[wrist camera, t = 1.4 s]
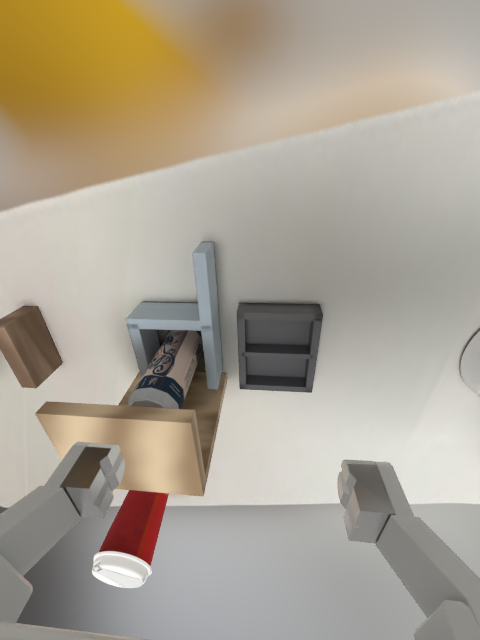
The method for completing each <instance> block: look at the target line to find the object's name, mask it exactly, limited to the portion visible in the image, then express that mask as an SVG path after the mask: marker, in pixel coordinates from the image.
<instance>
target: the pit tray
mask: <svg viewBox="0 0 480 640" xmlns="http://www.w3.org/2000/svg"><path fill="white" fill-rule="evenodd" d="M322 317H323V314H322V311H321V308H320V305H319V304H271V303H239V306H238V310H237V328H238V355H239V382H240V389H250V390H271V391H291V392H312V388H313V381H314V374H315V367H316V360H317V353H318V346H319V339H320V332H321V324H322Z"/></svg>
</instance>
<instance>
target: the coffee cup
mask: <svg viewBox="0 0 480 640" xmlns="http://www.w3.org/2000/svg"><path fill="white" fill-rule="evenodd" d="M168 494H169V493H159V492H148V491H137V490H129V492H128V494H127V496H126V498H125V500H124V502H123V504H122V506H121V508H120V510H119V512H118V514H117V516H116V518H115V520H114V522H113V523H112V525H111V527H110V529H109V531H108V534H107V536H106V538H105V540H104V542H103V544H102V546H101V548H100V551H99V553H97V554H95V556H94V565H93V568H92V573H93V575H94V576H95V577H96V578H98V579H99V580H101V581H103V582H105V583H108V584H111V585H114V586H117V587H123V588H137V587H140V586H142V585H143V583H144V582H146V580H147V576H149V575H151V574H152V571H151V570H152V569H151V567H150V565H151V561H152V558H153V554H154V550H155V546H156V542H157V538H158V534H159V530H160V526H161V522H162V518H163V514H164V510H165V506H166V502H167V498H168Z"/></svg>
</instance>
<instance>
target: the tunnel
mask: <svg viewBox="0 0 480 640" xmlns="http://www.w3.org/2000/svg"><path fill="white" fill-rule="evenodd" d="M140 379H141V374H140V372H139V373H138V375H137V376H136V378H135V380H134V381H133V383H132V384H131V386H130V388H129V389H128V391H127V392H126V394H125V395H124V397H123V399H122V400H121V402H120V403H119V405H118V406H116V405H99V404H81V403H64V402H46V403H45V404H44V405H43V406H42V407H41V408H40V409H39V410H38V411H37V412H36V413H35V414H36V416H37V418H38V419H39V421H40V423H41V425H42V426H43V428H44V430H45V432H46V433H47V435H48V437H49V439H50V440H51V442H52V444H53V446H54V447H55V449H56V451H57V452H58V454H59V456H60V458H61V459H62V460H63V458H64V457H65V455H66V454H67V453H68V451H69V450H70V448H71V447H72V446H73V445H74V444H75V443H76V442H77V441H78V442H92V443H104V444H118V445H119V447H120V449H121V451H120V453H119V455H121V456H122V457H123V458H124V460H125V471H124V475H123V478H122V480H121V483H120V485H119V486H118V487H116V488H115V489H125V490H137V491H148V492H159V493H171V494H182V495H193V496H204V491H205V486H206V482H207V477H208V472H209V467H210V462H211V457H212V452H213V447H214V442H215V437H216V432H217V427H218V422H219V417H220V412H221V407H222V402H223V397H224V392H225V387H226V382H227V373H222V374H221V378H220V382H219V386H218V389H208V385H207V377H206V372H196V371H195V372H194V375H193V377H192V380H191V383H190V386H189V388H188V391H187V394H186V397H185V399H184V402H183V405H182V408H181V409H169V408H152V407H134V406H129V403H128V400H129V397H130V395H131V394H132V393H133V391H134V389H135V388H136V386H137V384H138V383H139V381H140Z"/></svg>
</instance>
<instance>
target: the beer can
mask: <svg viewBox="0 0 480 640" xmlns="http://www.w3.org/2000/svg"><path fill="white" fill-rule="evenodd" d="M202 350H203V342H202V338H201V337H200V335H199V334H198V333H197V332H196V331H194V330H171V331H170V332H169V333H168V334H167V336H166V338H165V340H164V341H163V343H162V345H161V346H160V348H159V349H158V351H157V353H156V354H155V356H154V358H153V359H152V361H151V363H150V364H149V366H148V368H147V369H146V371H145V373H144V374H143V376H142V378H141V379H140V381H139V383H138V384H137V386H136V388H135V389H134V391H133V393H132V394H131V395H130V397H129V400H128V403H129V406H134V407H152V408H169V409H181V408H182V405H183V402H184V399H185V397H186V394H187V391H188V388H189V386H190V383H191V380H192V377H193V375H194V372H195V369H196V366H197V364H198V361H199V358H200V355H201V353H202Z"/></svg>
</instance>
